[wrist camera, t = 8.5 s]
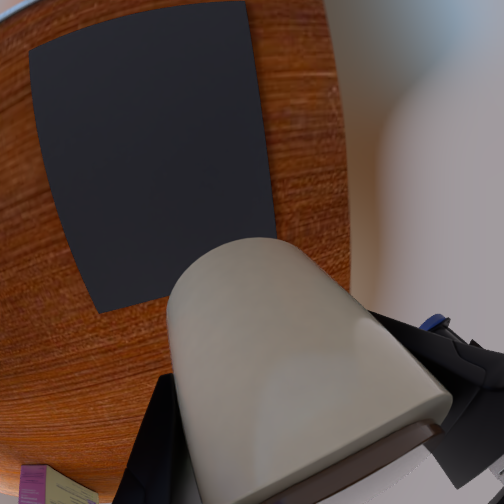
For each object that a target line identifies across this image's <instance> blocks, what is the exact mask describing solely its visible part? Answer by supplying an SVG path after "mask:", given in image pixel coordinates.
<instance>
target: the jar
mask: <svg viewBox="0 0 504 504" xmlns="http://www.w3.org/2000/svg"><path fill="white" fill-rule="evenodd" d="M166 325H167V333H168V341H169V349H170V357H171V364H172V370H173V377H174V383H175V389H176V395H177V401H178V406H179V411H180V417H181V422H182V427H183V432H184V436H185V441H186V445H187V450H188V454H189V458H190V463H191V467H192V471H193V475H194V478H195V482H196V486H197V490H198V493H199V497H200V500H201V504H364V503H366V502H368V501H369V500H371V499H373V498H374V497H376V496H378V495H379V494H381V493H382V492H384V491H385V490H387V489H388V488H390V487H391V486H393V485H394V484H395V483H397V482H398V481H399V480H401V479H402V478H404V477H405V476H406V475H408V474H409V473H410V472H411V471H413V470H414V469H415V468H416V467H417V466H418V465H420V464H421V463H422V462H423V461H424V460H425V459H426V458H427V457H428V456H429V455H430V454H431V453H432V452H433V451H434V450H435V449H436V448H437V447H438V445H439V444H440V443H441V441H442V440H443V438H444V436H445V431H444V430H443V429H442V427H441V426H440V425H441V423H442V422H443V420H444V419H445V417H446V416H447V414H448V412H449V410H450V408H451V406H452V403H453V397H452V394H451V393H450V392H449V391H448V390H447V389H446V388H445V387H444V386H443V385H442V384H441V382H440V381H439V380H438V379H437V378H436V377H435V376H434V375H433V374H432V373H431V372H430V371H429V370H428V369H427V368H426V367H425V366H424V365H423V364H422V363H421V362H420V361H419V360H418V359H417V358H416V357H415V356H414V355H413V354H412V353H411V352H410V351H409V350H408V349H407V348H406V347H405V346H404V345H403V344H402V343H401V342H400V341H398V340H397V339H396V338H395V337H394V336H393V335H392V334H391V333H390V332H389V331H388V330H387V329H386V328H385V327H384V326H383V325H382V324H381V323H380V322H379V321H378V320H377V319H376V318H375V317H374V316H373V315H372V314H370V313H369V312H368V311H367V310H366V309H365V308H364V307H363V306H362V305H361V304H360V303H359V302H358V301H357V300H356V299H355V298H353V297H352V296H351V295H350V294H349V293H348V292H347V291H346V290H345V289H344V288H343V287H342V286H341V285H340V284H338V283H337V282H336V281H335V280H334V279H333V278H332V277H331V276H330V275H329V274H328V273H326V272H325V271H324V270H323V269H322V268H321V267H320V266H319V265H318V264H317V263H315V262H314V261H313V260H312V259H311V258H310V257H309V256H308V255H307V254H305V253H304V252H303V251H302V250H300V249H299V248H297V247H296V246H294V245H292V244H290V243H287V242H285V241H282V240H277V239H273V238H262V237H258V238H246V239H240V240H235V241H232V242H229V243H226V244H223V245H221V246H219V247H217V248H215V249H212V250H211V251H209V252H208V253H206V254H204V255H203V256H201V257H200V258H199V259H198V260H196V261H195V262H194V263H193V264H192V265H191V266H190V267H189V268H188V269H187V270H186V271H185V272H184V273H183V274H182V276H181V277H180V278H179V280H178V281H177V283H176V284H175V286H174V288H173V290H172V292H171V295H170V297H169V300H168V304H167V310H166Z"/></svg>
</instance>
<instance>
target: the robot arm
mask: <svg viewBox="0 0 504 504" xmlns="http://www.w3.org/2000/svg"><path fill="white" fill-rule="evenodd" d="M367 311H368V312H369V313H370V314H372V315H373V316H374V317H375V318H376V319H377V320H378V321H379V322H380V323H381V324H382V325H383V326H384V327H385V328H386V329H387V330H388V331H389V332H390V333H391V334H392V335H393V336H394V337H395V338H396V339H397V340H398V341H400V342H401V343H402V344H403V345H404V346H405V347H406V348H407V349H408V350H409V351H410V352H411V353H412V354H413V355H414V356H415V357H416V358H417V359H418V360H419V361H420V362H421V363H422V364H423V365H424V366H425V367H426V368H427V369H428V370H429V371H430V372H431V373H432V374H433V375H434V376H435V377H436V378H437V379H438V380H439V381H440V382H441V384H442V385H443V386H444V387H445V388H446V389H447V390H448V391H449V392H450V393H451V394H452V397H453V403H452V406H451V408H450V410H449V412H448V414H447V416H446V417H445V419H444V420H443V422H442V423H441V425H440V426H441V427H442V429H443V430H444V431H445V436H444V438H443V440H442V441H441V443H440V444H439V445H438V447H437V448H436V449H435V450H434V451H433V452H432V454H433V456H434V457H435V459H436V460H437V462H438V463H439V465H440V466H441V467H442V469H443V470H444V472H445V473H446V475H447V476H448V478H449V479H450V481H451V482H452V484H453V485H454V486H455V488H456V489H459V488H461V487H462V486H464V485H465V484H467V483H468V482H469V481H471V480H472V479H473V478H475V477H476V476H478V475H479V474H480V473H482V472H483V471H484V470H486V469H487V468H489V469H490V471H491V472H492V473H493V474H494V475H495V477H496V478H497V479H499V480H500V481H501V482H502V483H503V485H504V354H503V353H499V352H494V351H490V350H486V349H483V348H482V347H481V346H480V345H479V344H478V343H476V342H475V341H474V340H473V339H472V340H471V341H470V344H469V345H468V344H467V343H466V342H465V341H464V340H463V339H461V338H460V337H459V336H458V335H457V334H456V333H454V332H453V331H452V330H451V329H450V328H448V326H449V323H450V318H449V317H448V318H446V319H445V320H443V321H442V322H440V323H439V324H437V325H436V326H434V327H432V328H431V329H429V330H428V331H426V330H423V329H420V328H417V327H414V326H411V325H409V324H406V323H403V322H400V321H397V320H394V319H391V318H389V317H386V316H383V315H380V314H377V313H375V312H372V311H369V310H367ZM112 504H201V500H200V497H199V493H198V490H197V486H196V482H195V478H194V475H193V471H192V467H191V463H190V458H189V454H188V450H187V445H186V441H185V436H184V432H183V427H182V422H181V417H180V411H179V406H178V401H177V395H176V389H175V383H174V377H173V374H172V373H169V374H164V375H161V376H160V377H159V379H158V381H157V384H156V386H155V389H154V392H153V394H152V397H151V399H150V402H149V405H148V407H147V410H146V413H145V415H144V418H143V421H142V424H141V426H140V429H139V432H138V434H137V437H136V440H135V443H134V446H133V448H132V451H131V454H130V457H129V460H128V463H127V468H125V471H124V474H123V477H122V480H121V482H120V485H119V488H118V490H117V493H116V495H115V497H114V500H113V502H112ZM488 504H504V487H503V488H502V489H501V490H500V491H499V492H498V493H497V495H496V496H495V497H494V498H493V499H492V500H491V501H490V502H489V503H488Z"/></svg>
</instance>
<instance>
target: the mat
mask: <svg viewBox="0 0 504 504" xmlns="http://www.w3.org/2000/svg"><path fill="white" fill-rule="evenodd" d="M29 66H30V80H31V90H32V99H33V107H34V114H35V120H36V126H37V132H38V137H39V142H40V147H41V152H42V156H43V161H44V165H45V169H46V173H47V177H48V181H49V185H50V188H51V192H52V195H53V199H54V202H55V205H56V209H57V212H58V215H59V218H60V221H61V224H62V227H63V230H64V233H65V235H66V238H67V241H68V244H69V246H70V249H71V252H72V254H73V257H74V259H75V262H76V264H77V267H78V269H79V271H80V274H81V276H82V279H83V281H84V283H85V285H86V288H87V290H88V292H89V294H90V296H91V299H92V301H93V303H94V305H95V307H96V309H97V311H98V313H99V314H100V313H104V312H108V311H112V310H116V309H120V308H124V307H128V306H131V305H135V304H139V303H143V302H147V301H150V300H154V299H158V298H162V297H165V296H169V295H171V292H172V290H173V288H174V286H175V284H176V283H177V281H178V280H179V278H180V277H181V276H182V274H183V273H184V272H185V271H186V270H187V269H188V268H189V267H190V266H191V265H192V264H193V263H194V262H195V261H196V260H198V259H199V258H200V257H201V256H203V255H204V254H206V253H208V252H209V251H211V250H212V249H215V248H217V247H219V246H221V245H223V244H226V243H229V242H232V241H235V240H240V239H246V238H258V237H262V238H273V239H277V234H276V224H275V215H274V206H273V197H272V189H271V180H270V172H269V164H268V156H267V148H266V140H265V132H264V125H263V117H262V110H261V103H260V95H259V88H258V81H257V75H256V68H255V61H254V55H253V48H252V42H251V35H250V29H249V23H248V17H247V11H246V5H245V1H225V2H209V3H198V4H189V5H181V6H174V7H167V8H161V9H155V10H150V11H145V12H140V13H136V14H131V15H127V16H123V17H119V18H116V19H112V20H108V21H105V22H102V23H98V24H95V25H92V26H89V27H86V28H83V29H80V30H77V31H75V32H72V33H69V34H67V35H64V36H61V37H59V38H57V39H54V40H52V41H49V42H47V43H45V44H43V45H40V46H38V47H36V48H34V49H32V50H30V51H29Z"/></svg>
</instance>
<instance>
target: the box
mask: <svg viewBox="0 0 504 504" xmlns="http://www.w3.org/2000/svg"><path fill="white" fill-rule="evenodd" d="M19 504H99V499H98V494H97V493H95V492H93V491H91V490H89V489H87V488H85V487H83V486H81V485H79V484H77V483H76V482H74V481H72V480H70V479H69V478H67V477H65V476H63V475H62V474H60V473H59V472H57V471H55V470H54V469H52V468H51V467H50V466H48V465H22V466H21V475H20V486H19Z"/></svg>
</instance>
